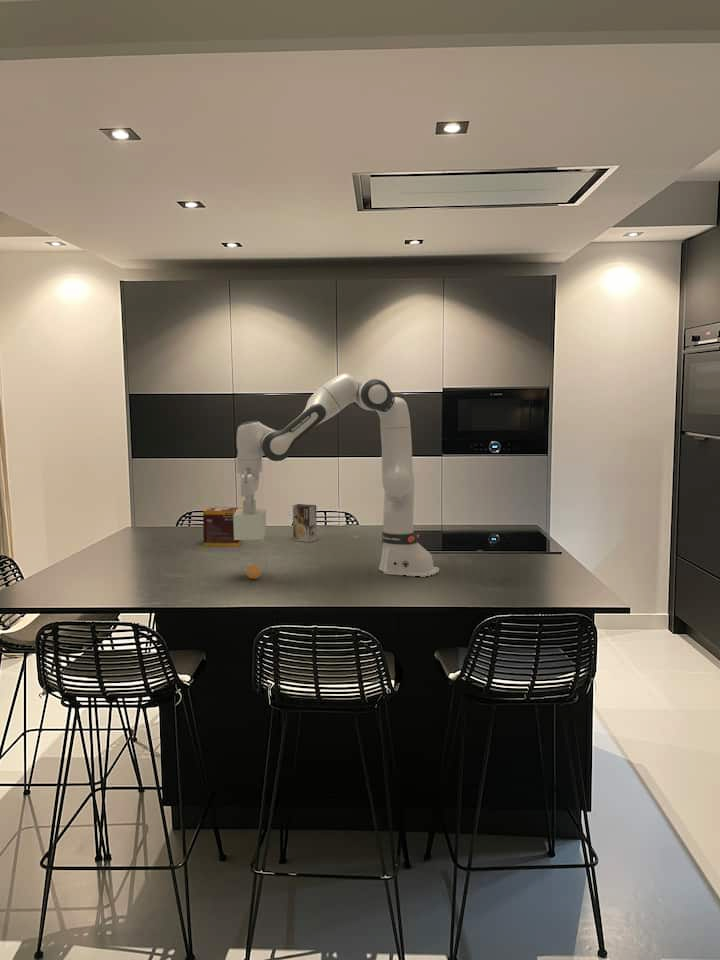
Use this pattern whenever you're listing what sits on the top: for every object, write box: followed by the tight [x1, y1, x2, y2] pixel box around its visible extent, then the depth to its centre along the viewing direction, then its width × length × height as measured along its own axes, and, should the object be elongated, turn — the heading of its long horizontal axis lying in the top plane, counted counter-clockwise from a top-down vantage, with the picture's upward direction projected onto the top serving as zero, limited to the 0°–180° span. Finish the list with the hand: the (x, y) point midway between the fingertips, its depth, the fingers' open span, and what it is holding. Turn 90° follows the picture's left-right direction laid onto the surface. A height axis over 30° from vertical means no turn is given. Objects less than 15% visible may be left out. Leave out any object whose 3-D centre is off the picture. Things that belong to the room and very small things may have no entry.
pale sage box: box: [233, 499, 267, 541], centre depth 264 cm, size 10×10×13 cm
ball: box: [246, 564, 262, 580], centre depth 261 cm, size 5×5×5 cm
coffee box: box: [292, 503, 318, 543], centre depth 333 cm, size 9×6×16 cm
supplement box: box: [202, 506, 243, 547], centre depth 324 cm, size 10×15×16 cm
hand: (249, 506), depth 263 cm, fingers closed on pale sage box, 4 cm apart
